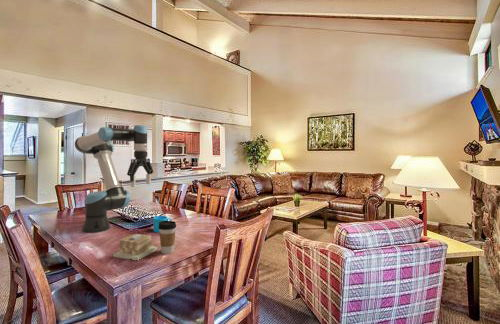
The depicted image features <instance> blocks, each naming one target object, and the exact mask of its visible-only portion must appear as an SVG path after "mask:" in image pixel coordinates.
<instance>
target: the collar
mask: <svg viewBox="0 0 500 324" xmlns="http://www.w3.org/2000/svg"><path fill="white" fill-rule="evenodd" d="M137 234H138V233H133V234H130V235H129V236H127V237H124V238H122V239H120V240H119V251H120V253H126V254H133V255H139V254H140V253H142V252H144V251H146V250H148V249H149V248H151V246H152V235H147V234H140V235H142V237H141V238H139V239H137V240H135V241H133V240H130V237H132V236H134V235H137Z"/></svg>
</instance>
